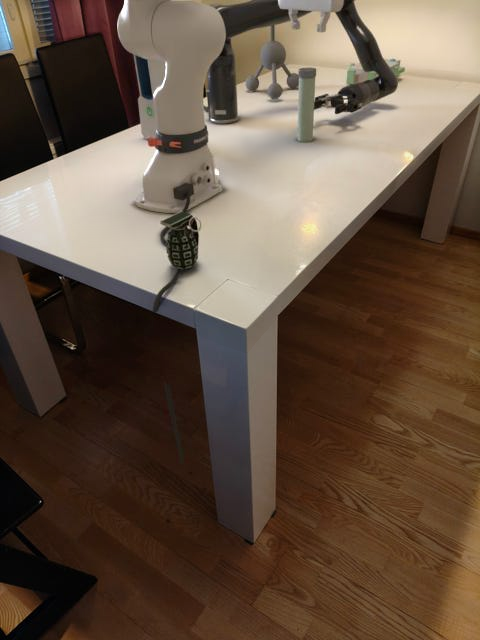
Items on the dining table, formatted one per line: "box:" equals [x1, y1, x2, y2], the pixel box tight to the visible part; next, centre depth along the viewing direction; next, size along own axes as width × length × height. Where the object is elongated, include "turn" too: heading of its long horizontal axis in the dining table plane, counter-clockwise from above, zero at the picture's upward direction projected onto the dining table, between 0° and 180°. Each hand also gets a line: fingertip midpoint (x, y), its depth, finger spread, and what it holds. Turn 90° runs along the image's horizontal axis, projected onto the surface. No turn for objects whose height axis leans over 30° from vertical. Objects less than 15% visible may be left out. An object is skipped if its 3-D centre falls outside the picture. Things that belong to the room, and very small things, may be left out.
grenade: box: [159, 211, 202, 271], centre depth 88 cm, size 7×6×10 cm
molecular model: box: [245, 25, 299, 100], centre depth 182 cm, size 24×22×30 cm
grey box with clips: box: [346, 58, 406, 85], centre depth 197 cm, size 26×6×20 cm
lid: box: [297, 67, 317, 78], centre depth 135 cm, size 5×5×2 cm
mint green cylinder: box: [297, 76, 316, 143], centre depth 140 cm, size 4×4×18 cm
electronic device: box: [133, 54, 166, 140], centre depth 143 cm, size 12×8×30 cm, turn 47°
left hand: (308, 30), depth 129 cm, fingers open, 8 cm apart
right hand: (324, 108), depth 147 cm, fingers open, 8 cm apart
